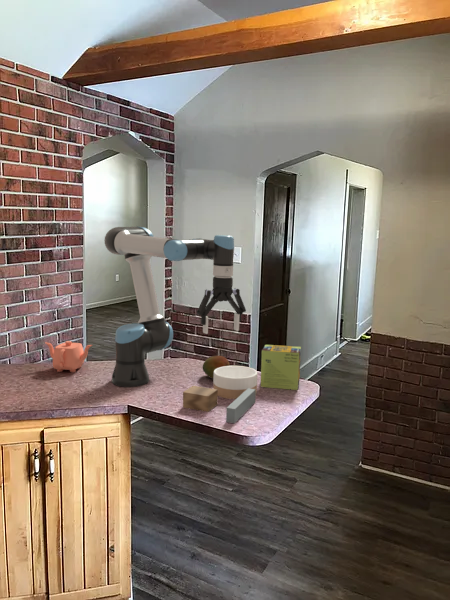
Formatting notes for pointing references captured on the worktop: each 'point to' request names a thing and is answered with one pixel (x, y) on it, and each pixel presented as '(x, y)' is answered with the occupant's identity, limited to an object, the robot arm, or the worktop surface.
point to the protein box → (280, 367)
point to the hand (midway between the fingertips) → (221, 331)
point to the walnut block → (200, 398)
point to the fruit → (214, 364)
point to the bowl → (234, 380)
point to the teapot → (68, 355)
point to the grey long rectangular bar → (240, 405)
